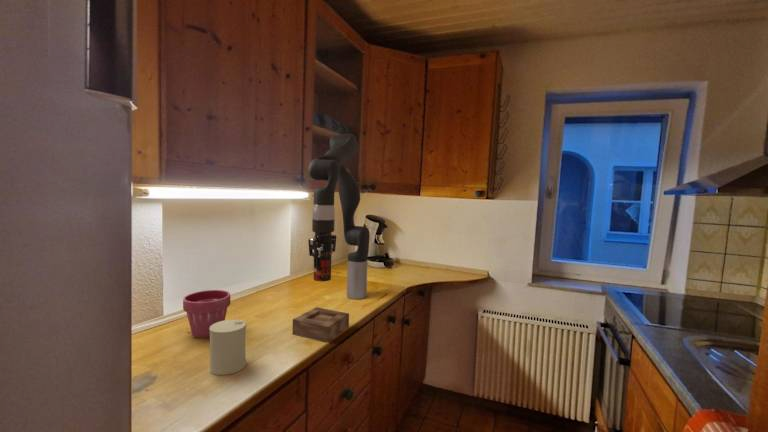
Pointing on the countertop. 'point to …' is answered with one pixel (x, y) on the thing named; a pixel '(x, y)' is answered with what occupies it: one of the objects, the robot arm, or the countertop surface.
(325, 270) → the deodorant
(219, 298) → the plant pot
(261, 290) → the countertop surface
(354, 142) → the robot arm
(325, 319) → the plinth
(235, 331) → the can
